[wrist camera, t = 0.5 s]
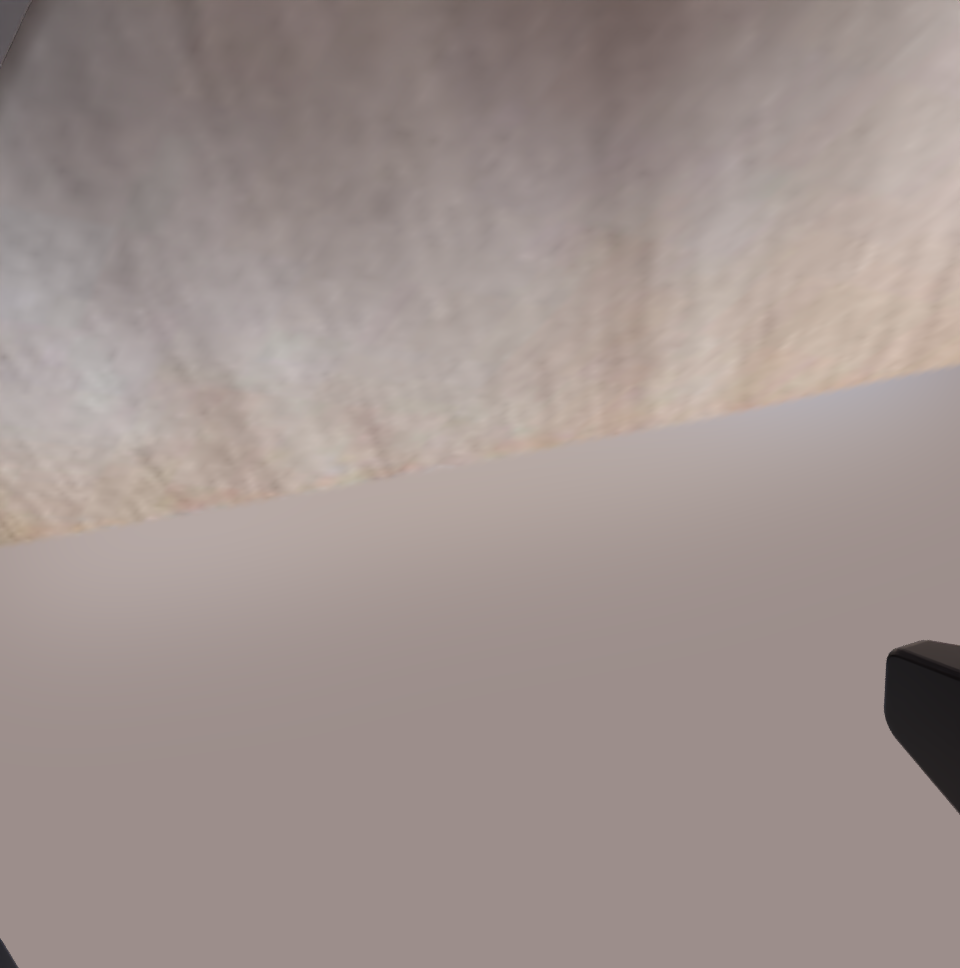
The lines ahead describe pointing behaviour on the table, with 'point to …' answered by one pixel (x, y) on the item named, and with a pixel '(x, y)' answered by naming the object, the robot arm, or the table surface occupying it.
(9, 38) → the roller bed
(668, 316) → the table surface
